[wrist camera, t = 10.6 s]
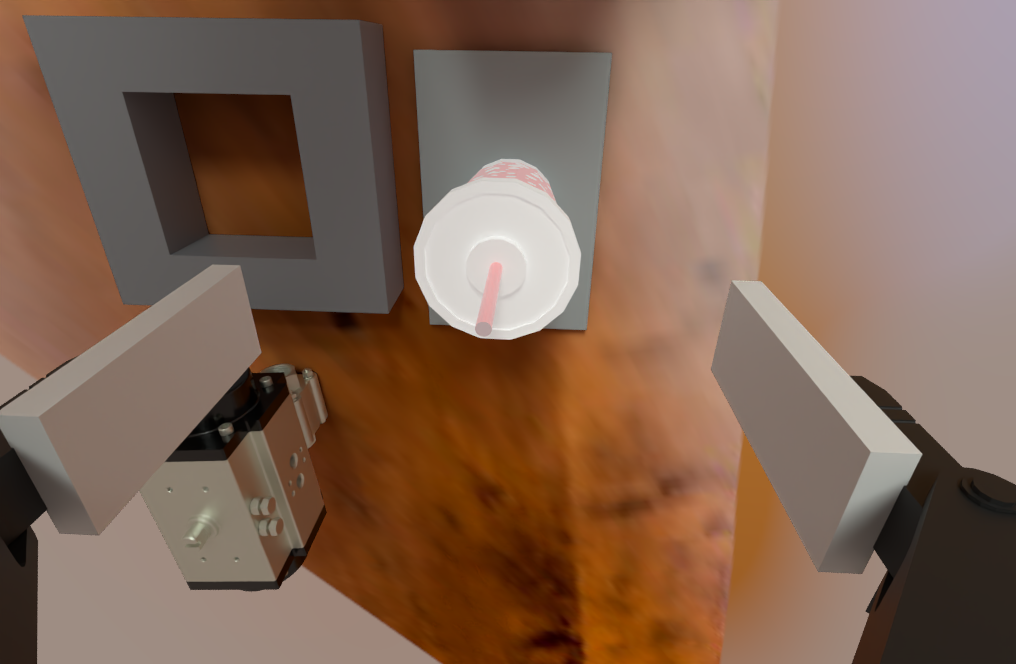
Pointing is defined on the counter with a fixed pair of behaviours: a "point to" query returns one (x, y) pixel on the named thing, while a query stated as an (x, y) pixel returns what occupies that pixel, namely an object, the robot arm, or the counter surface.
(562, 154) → the rubber mat
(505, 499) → the counter surface
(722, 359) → the robot arm
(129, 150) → the socket block
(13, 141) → the counter surface
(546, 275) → the beverage cup
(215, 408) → the pneumatic valve
